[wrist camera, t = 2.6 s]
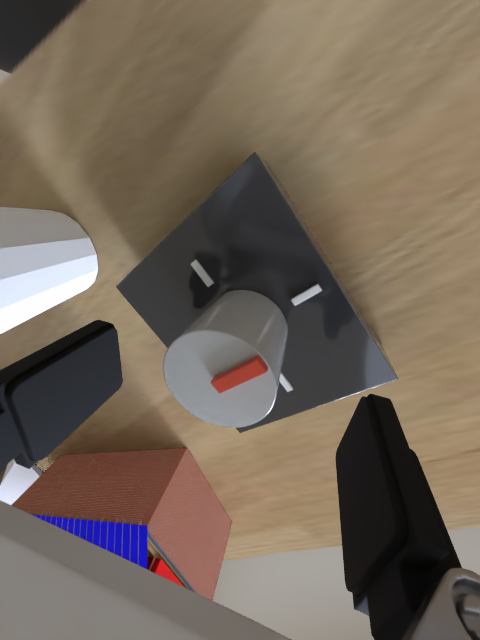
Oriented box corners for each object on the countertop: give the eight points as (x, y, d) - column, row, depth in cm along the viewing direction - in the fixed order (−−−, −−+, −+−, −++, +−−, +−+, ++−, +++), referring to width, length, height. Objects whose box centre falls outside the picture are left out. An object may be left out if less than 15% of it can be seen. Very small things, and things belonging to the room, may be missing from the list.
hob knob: (238, 376, 14) (208, 445, 10) (190, 316, 13) (136, 366, 9) (305, 344, 12) (300, 414, 8) (254, 272, 12) (221, 310, 7)
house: (57, 453, 31) (-69, 577, 21) (188, 445, 23) (92, 633, 13) (108, 514, 35) (23, 644, 24) (236, 524, 27) (189, 719, 17)
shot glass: (116, 301, 18) (17, 351, 12) (44, 295, 20) (-74, 337, 14) (89, 198, 15) (-58, 195, 9) (8, 201, 17) (-161, 201, 11)
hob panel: (146, 273, 17) (113, 287, 14) (267, 162, 12) (254, 150, 9) (250, 401, 19) (239, 435, 16) (383, 347, 15) (399, 381, 12)
